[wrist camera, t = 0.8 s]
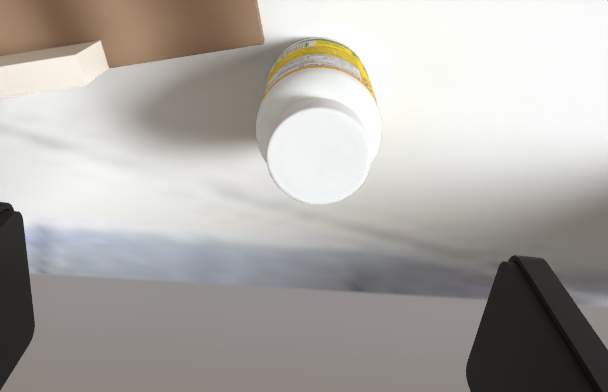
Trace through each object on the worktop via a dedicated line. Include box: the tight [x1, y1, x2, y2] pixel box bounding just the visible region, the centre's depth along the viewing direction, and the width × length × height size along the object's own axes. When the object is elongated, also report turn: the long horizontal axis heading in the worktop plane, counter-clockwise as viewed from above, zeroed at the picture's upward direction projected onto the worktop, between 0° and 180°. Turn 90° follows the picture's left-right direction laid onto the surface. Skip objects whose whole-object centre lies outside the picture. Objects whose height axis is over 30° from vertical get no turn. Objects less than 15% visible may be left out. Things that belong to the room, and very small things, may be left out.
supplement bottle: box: [256, 37, 382, 205], centre depth 27 cm, size 6×6×10 cm
